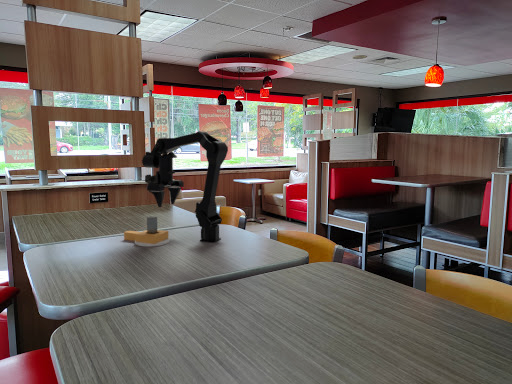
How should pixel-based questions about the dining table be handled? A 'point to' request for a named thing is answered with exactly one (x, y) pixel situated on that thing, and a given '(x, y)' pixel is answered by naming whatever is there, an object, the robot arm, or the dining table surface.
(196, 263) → the dining table surface
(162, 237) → the bracket
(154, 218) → the dark grey post
